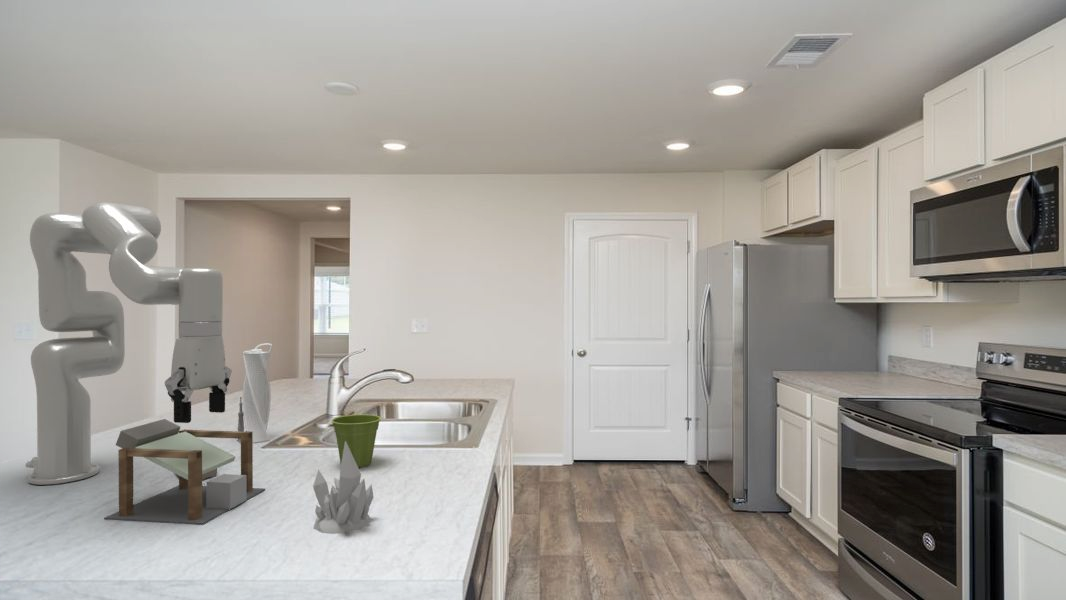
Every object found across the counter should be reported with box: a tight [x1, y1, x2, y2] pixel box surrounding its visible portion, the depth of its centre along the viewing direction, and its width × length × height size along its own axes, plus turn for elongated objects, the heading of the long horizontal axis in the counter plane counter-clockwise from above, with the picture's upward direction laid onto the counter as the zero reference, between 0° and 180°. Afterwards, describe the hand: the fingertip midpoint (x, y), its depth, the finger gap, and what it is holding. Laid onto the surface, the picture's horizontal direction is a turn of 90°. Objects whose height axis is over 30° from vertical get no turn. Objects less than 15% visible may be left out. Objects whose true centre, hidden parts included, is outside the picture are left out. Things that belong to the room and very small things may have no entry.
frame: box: [117, 429, 254, 520], centre depth 115 cm, size 16×17×13 cm
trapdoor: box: [115, 418, 236, 480], centre depth 116 cm, size 17×13×3 cm
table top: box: [103, 484, 266, 526], centre depth 115 cm, size 20×19×1 cm
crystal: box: [312, 441, 374, 535], centre depth 106 cm, size 10×13×15 cm
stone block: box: [205, 473, 248, 510], centre depth 114 cm, size 5×5×5 cm
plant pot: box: [330, 413, 382, 469], centre depth 142 cm, size 12×12×11 cm
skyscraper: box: [236, 342, 273, 444], centre depth 166 cm, size 8×8×28 cm
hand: (200, 417), depth 115 cm, fingers open, 9 cm apart
